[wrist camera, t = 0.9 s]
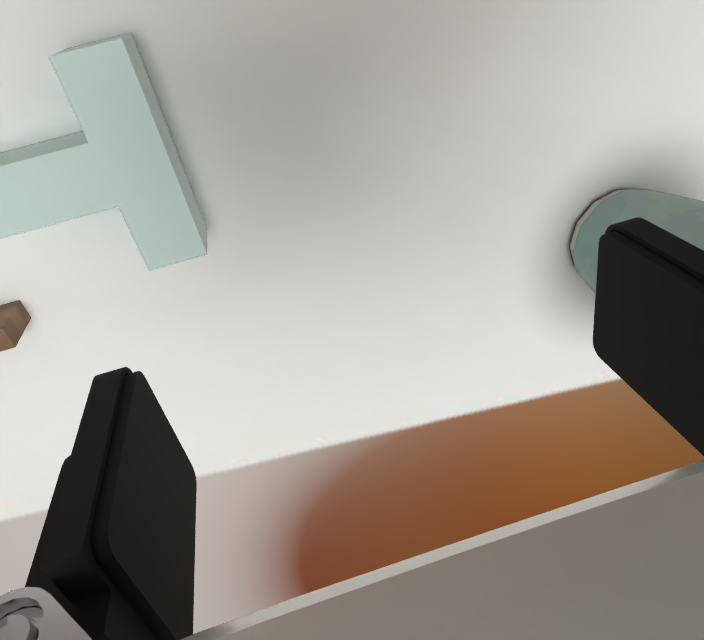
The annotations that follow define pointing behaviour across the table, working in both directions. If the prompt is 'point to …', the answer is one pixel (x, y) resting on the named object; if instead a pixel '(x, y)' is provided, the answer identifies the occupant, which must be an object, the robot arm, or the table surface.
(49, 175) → the tee block
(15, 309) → the corral
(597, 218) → the disposable coffee cup
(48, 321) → the table surface
